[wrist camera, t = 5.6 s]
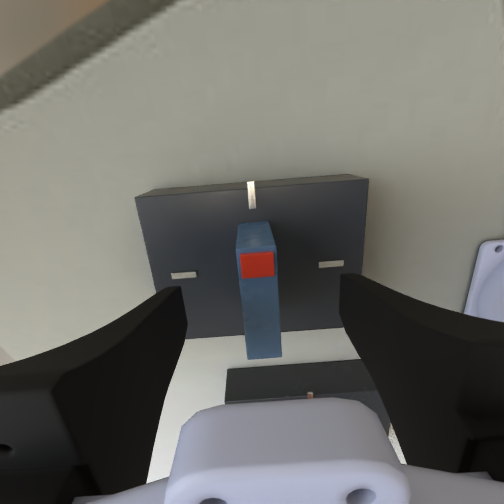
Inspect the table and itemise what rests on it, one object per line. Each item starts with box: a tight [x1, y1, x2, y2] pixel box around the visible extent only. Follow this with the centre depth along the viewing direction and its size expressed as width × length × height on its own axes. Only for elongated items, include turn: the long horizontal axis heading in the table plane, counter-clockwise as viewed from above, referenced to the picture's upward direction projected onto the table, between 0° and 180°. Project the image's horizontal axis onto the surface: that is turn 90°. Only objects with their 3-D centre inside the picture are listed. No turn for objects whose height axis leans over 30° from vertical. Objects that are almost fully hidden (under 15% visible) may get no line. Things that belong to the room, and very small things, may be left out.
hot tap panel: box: [225, 360, 390, 436], centre depth 22 cm, size 12×10×3 cm
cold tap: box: [236, 221, 282, 360], centre depth 13 cm, size 6×2×4 cm, turn 4°
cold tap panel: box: [135, 174, 369, 339], centre depth 16 cm, size 12×10×3 cm
